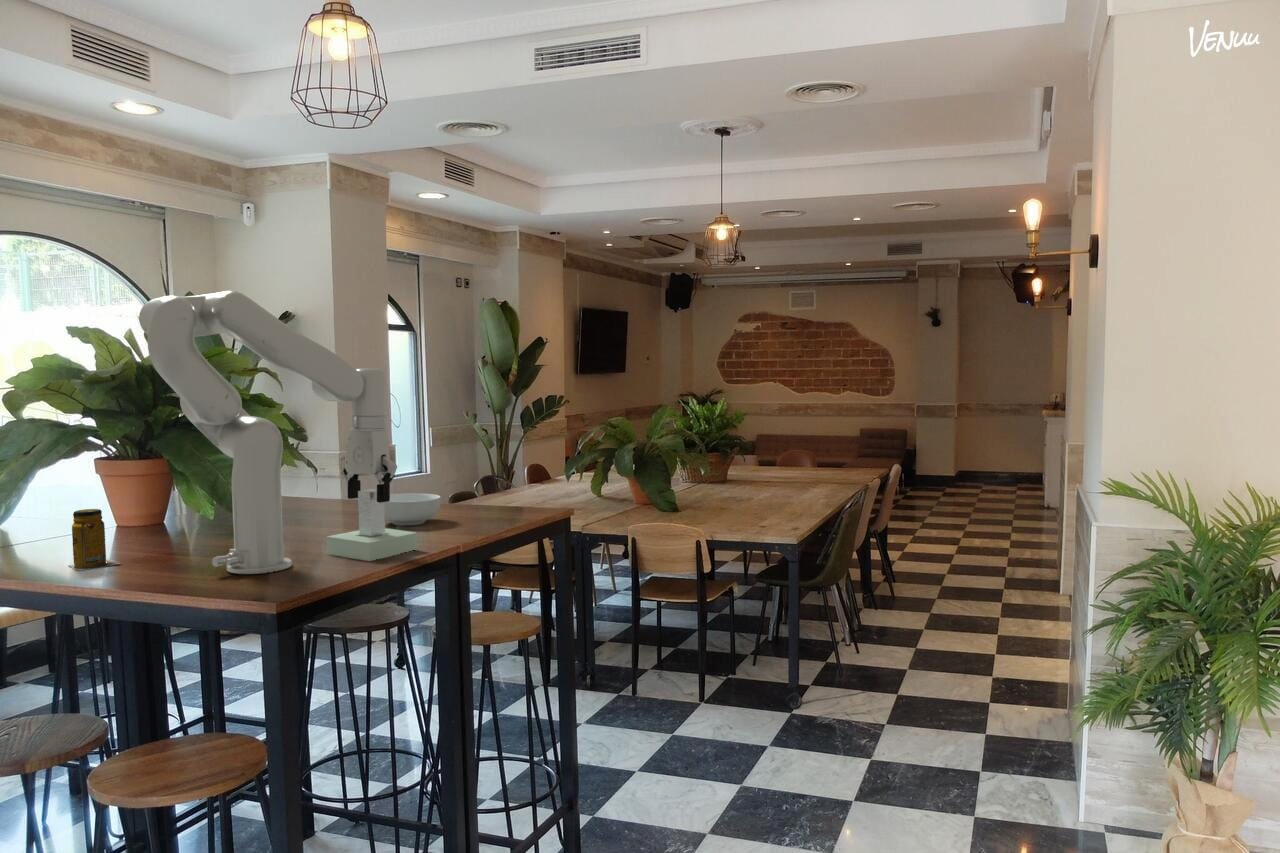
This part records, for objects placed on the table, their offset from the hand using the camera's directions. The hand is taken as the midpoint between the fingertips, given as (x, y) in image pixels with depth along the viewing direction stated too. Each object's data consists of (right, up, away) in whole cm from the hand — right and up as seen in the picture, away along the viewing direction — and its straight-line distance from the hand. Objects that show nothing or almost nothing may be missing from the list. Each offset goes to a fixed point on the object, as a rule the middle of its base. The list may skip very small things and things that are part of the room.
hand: (368, 500), depth 215 cm
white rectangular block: (+1, -12, +1) cm, 12 cm away
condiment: (-55, -13, -10) cm, 58 cm away
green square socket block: (+1, -12, +1) cm, 12 cm away
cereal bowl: (0, -9, +39) cm, 40 cm away
